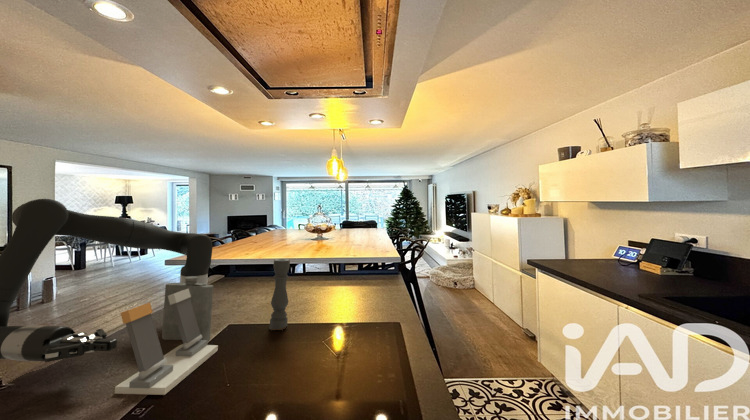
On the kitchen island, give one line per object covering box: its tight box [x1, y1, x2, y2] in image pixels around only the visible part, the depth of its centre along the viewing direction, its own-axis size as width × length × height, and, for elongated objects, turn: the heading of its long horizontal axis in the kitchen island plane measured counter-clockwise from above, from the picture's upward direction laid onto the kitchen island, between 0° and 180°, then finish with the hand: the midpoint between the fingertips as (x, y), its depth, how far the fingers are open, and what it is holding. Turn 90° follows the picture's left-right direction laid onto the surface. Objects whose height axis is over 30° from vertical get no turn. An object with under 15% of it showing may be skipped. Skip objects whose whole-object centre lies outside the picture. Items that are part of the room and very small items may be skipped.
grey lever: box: [168, 289, 202, 349], centre depth 82 cm, size 2×6×16 cm, turn 2°
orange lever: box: [120, 302, 166, 379], centre depth 67 cm, size 2×6×16 cm, turn 2°
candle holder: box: [269, 258, 291, 330], centre depth 105 cm, size 6×6×25 cm
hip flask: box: [161, 276, 214, 342], centre depth 93 cm, size 16×4×20 cm, turn 85°
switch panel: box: [114, 340, 219, 396], centre depth 74 cm, size 11×23×3 cm, turn 1°
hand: (113, 345), depth 67 cm, fingers closed
